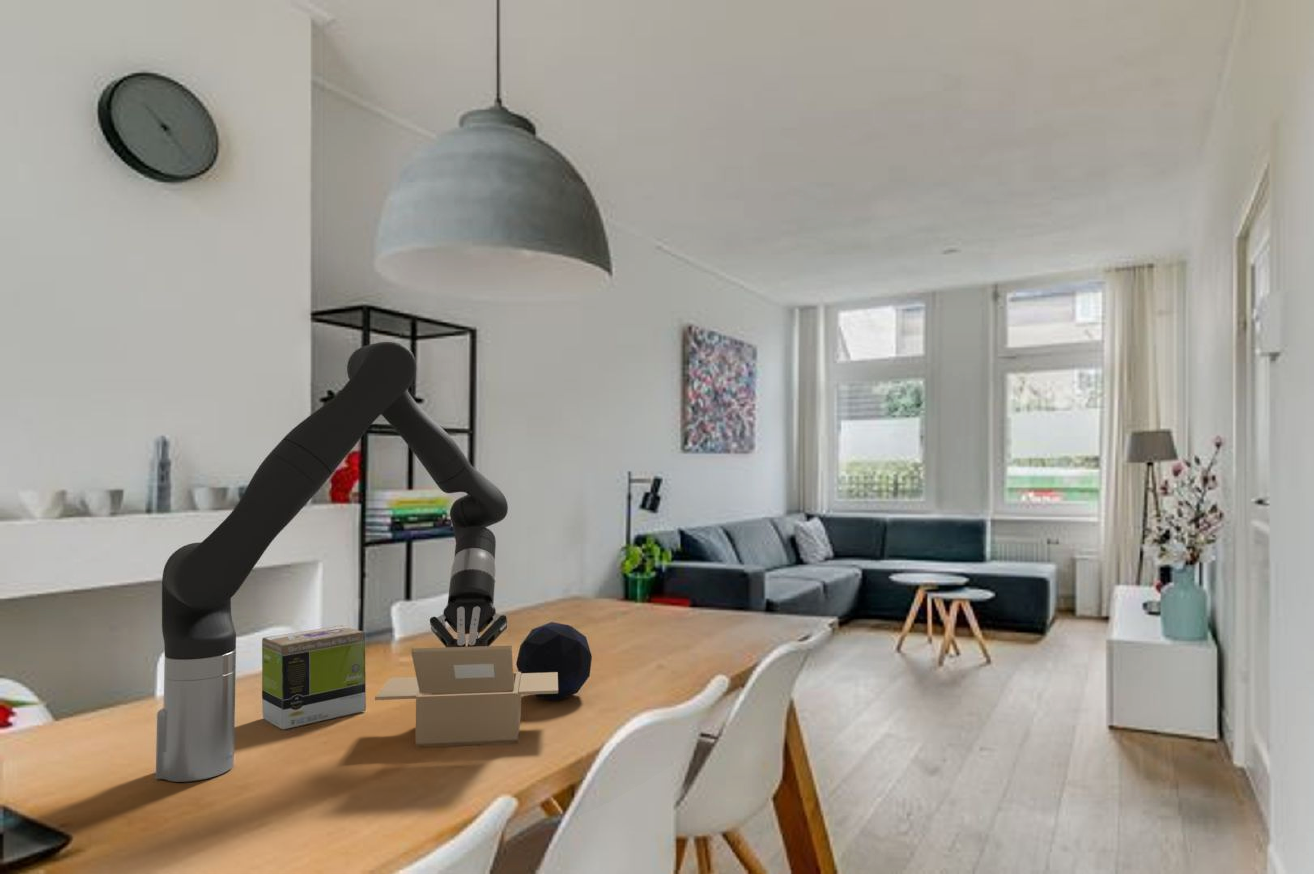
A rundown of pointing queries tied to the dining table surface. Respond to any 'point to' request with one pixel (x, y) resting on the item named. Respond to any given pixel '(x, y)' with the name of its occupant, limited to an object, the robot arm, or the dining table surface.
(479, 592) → the robot arm
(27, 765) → the dining table surface
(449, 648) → the cardboard box flap
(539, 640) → the decorative orb
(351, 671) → the tea box
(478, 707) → the carton
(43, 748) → the dining table surface
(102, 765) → the dining table surface
